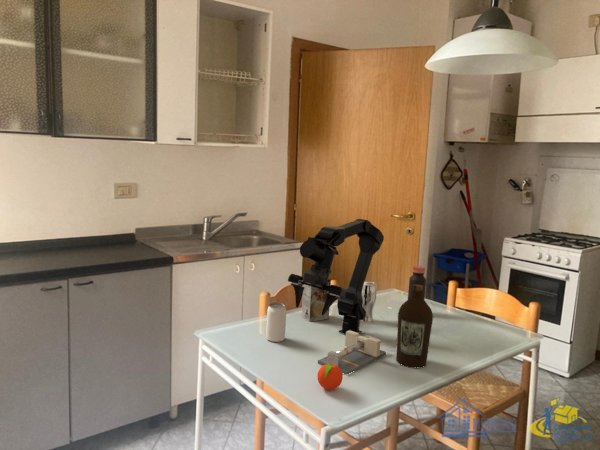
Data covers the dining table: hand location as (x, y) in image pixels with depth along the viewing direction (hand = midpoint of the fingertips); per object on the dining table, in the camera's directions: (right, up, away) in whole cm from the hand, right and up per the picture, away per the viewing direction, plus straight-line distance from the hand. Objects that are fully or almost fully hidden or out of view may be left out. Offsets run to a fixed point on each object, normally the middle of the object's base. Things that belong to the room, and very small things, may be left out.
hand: (309, 311), depth 159 cm
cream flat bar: (+17, -13, +1) cm, 21 cm away
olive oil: (+32, -16, -3) cm, 36 cm away
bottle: (+45, -9, +48) cm, 66 cm away
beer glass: (+23, -10, +35) cm, 43 cm away
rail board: (+14, -15, -3) cm, 20 cm away
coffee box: (+3, -9, +35) cm, 36 cm away
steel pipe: (+14, -15, -3) cm, 20 cm away
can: (-12, -11, +10) cm, 19 cm away
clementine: (+5, -17, -24) cm, 30 cm away
